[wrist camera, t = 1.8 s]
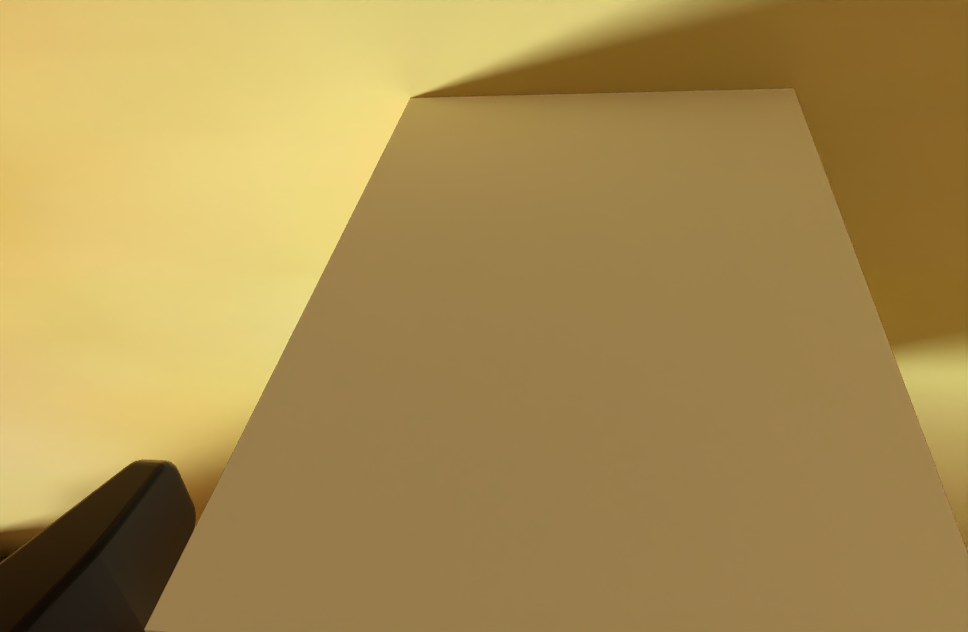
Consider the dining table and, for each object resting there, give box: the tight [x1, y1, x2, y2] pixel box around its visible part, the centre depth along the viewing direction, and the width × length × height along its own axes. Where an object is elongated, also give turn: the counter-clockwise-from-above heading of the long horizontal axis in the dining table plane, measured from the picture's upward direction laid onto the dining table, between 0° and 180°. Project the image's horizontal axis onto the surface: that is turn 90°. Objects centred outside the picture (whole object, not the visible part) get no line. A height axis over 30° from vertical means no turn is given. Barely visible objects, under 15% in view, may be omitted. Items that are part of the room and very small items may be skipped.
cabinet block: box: [144, 88, 968, 632], centre depth 10 cm, size 6×5×8 cm
